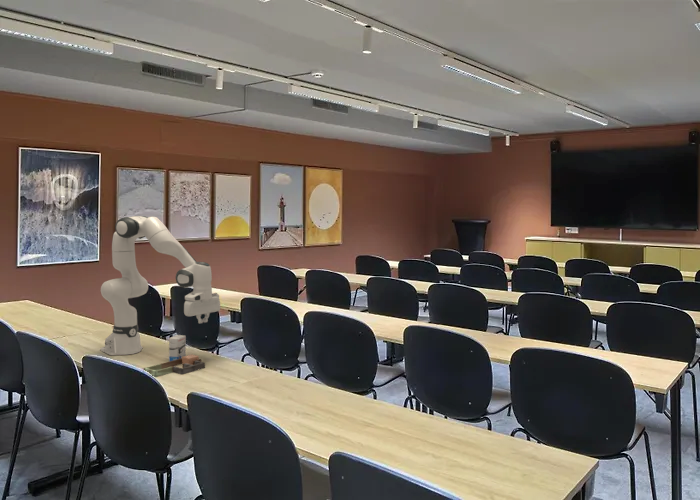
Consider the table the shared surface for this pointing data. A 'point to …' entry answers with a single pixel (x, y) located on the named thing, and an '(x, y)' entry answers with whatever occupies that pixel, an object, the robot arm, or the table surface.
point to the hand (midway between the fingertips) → (202, 322)
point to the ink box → (177, 347)
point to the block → (189, 359)
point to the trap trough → (174, 367)
